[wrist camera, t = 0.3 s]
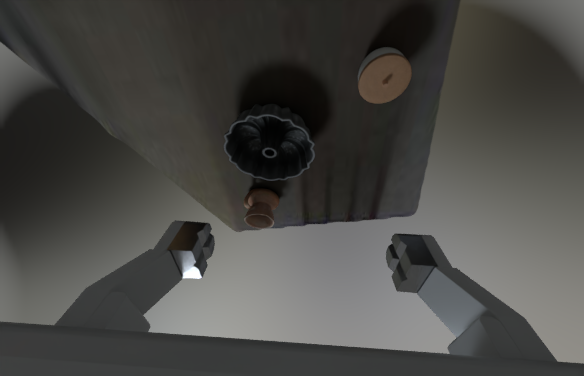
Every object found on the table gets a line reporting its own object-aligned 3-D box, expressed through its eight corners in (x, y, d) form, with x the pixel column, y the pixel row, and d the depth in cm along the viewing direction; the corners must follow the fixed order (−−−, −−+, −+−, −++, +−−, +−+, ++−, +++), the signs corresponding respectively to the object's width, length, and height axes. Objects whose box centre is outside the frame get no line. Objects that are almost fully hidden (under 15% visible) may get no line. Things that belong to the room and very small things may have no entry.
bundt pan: (322, 97, 60) (323, 121, 54) (308, 163, 82) (307, 184, 76) (225, 86, 59) (215, 108, 53) (236, 155, 81) (230, 176, 75)
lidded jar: (414, 49, 49) (426, 70, 44) (382, 91, 58) (390, 114, 52) (372, 30, 47) (380, 50, 41) (346, 77, 55) (349, 98, 50)
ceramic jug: (287, 199, 102) (285, 227, 93) (263, 207, 109) (259, 233, 100) (262, 177, 90) (257, 206, 82) (237, 187, 97) (229, 215, 89)
